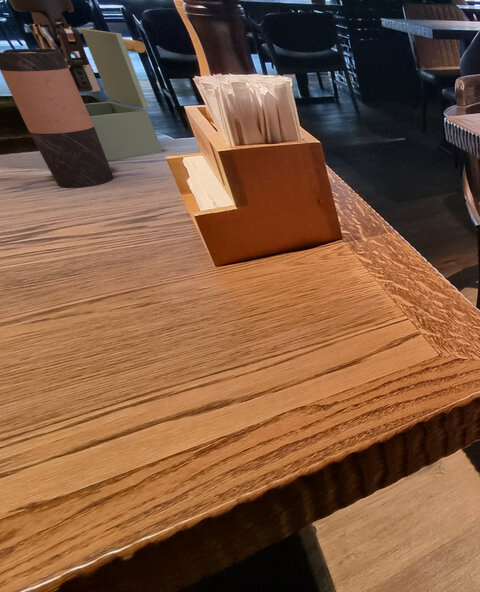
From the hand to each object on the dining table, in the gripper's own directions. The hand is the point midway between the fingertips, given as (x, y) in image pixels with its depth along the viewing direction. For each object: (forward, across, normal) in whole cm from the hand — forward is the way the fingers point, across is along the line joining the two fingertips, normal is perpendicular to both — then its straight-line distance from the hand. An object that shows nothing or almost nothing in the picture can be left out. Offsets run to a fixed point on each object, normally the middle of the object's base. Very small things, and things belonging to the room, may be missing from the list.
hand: (78, 89), depth 93 cm
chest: (+12, 0, 0) cm, 12 cm away
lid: (-3, 0, +6) cm, 7 cm away
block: (0, 0, 0) cm, 0 cm away
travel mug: (+13, +14, -8) cm, 20 cm away
